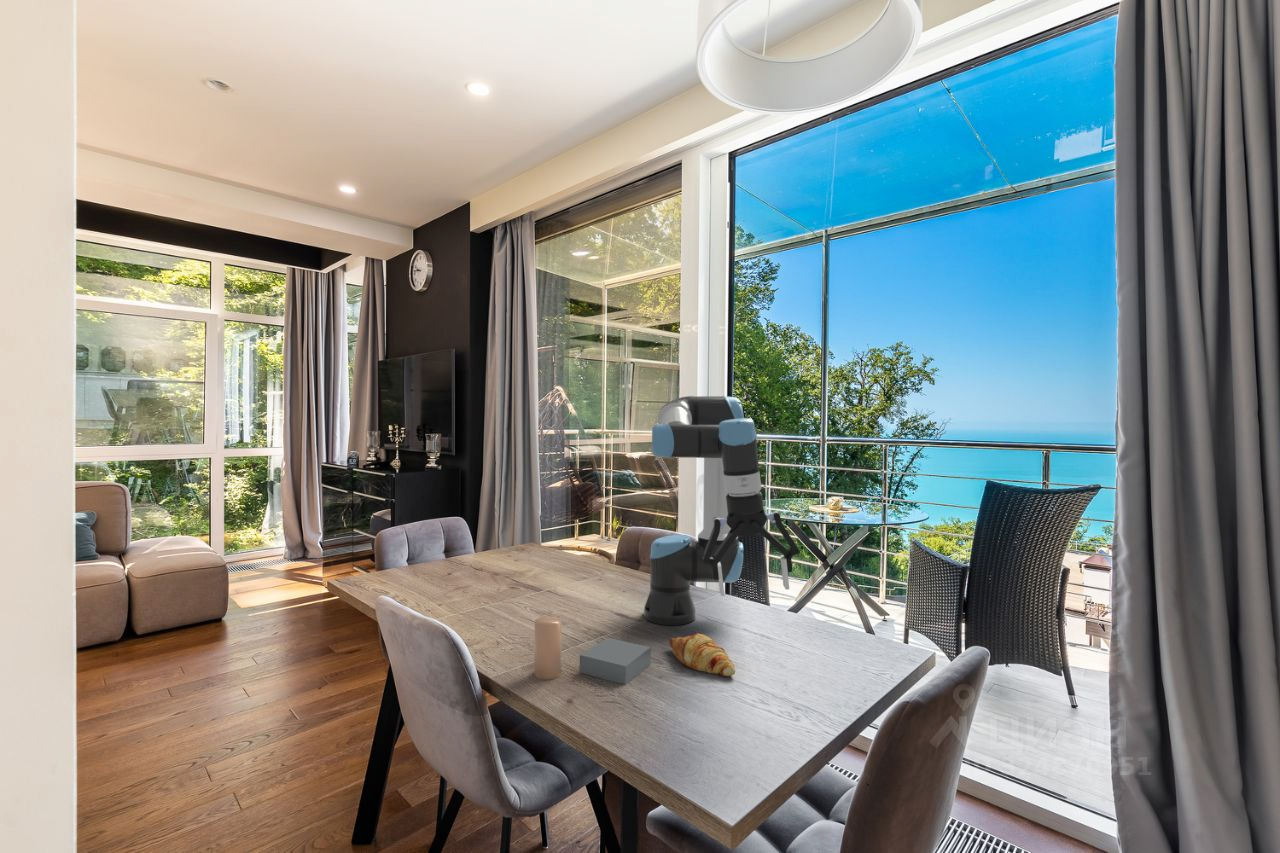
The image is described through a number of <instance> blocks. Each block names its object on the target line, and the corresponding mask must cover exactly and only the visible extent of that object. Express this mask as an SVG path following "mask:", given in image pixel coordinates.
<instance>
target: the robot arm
mask: <svg viewBox="0 0 1280 853" xmlns="http://www.w3.org/2000/svg"><path fill="white" fill-rule="evenodd" d="M651 433H652V434H651V454H652V455H653V456H654V457H656V458H665V459H670V458H678V459H679V458H681V459H682V458H685V459H686V458H690V459H691V458H693V459H694V458H695V459H696V458H697V459H703V517H702V518H703V522H702V523H703V524H702V525H703V528H702V530H701V531H700V532H699V533H698V535H697V541H695V540H694V541H693V540H692V538H691V537H690V536H689V535H686V534H684V535H683V534H674V535H673V534H672V535H666V536H662V537H659V538H656V539H654V540H653V541H652V542H651V546H650V555H649V558H650V574H649V575H650V576H649V577H650V578H649V580H650V588H649V592H648V595H647V598H646V602H645V604H644V608H643V617H644V619H645V620H647V621H648V622H650V623H653V624H657V625H662V626H679V625H687V624H689V623H691V622H693V621H695V620H696V616H697V615H696V607H695V603H694V600H693V596H692V594H691V583H718V586H719V587H718V588H719V594H720V597H725V595H726V594H725V587H724V584H725V583H736V582H737V581H738V580H739V578H740V576H741V574H742V570H743V563H744V544H743V542H740V541H739V538H743V539H744V538H747V537H757V536H758V535H759V534H760V535H761V536H762V537H764V538H765V539H766V540H767V541H768V542H769V543H770V544H771V545H773V546H774V548H776V549H777V551H779V552H780V553H781V555H779V556H780V557H779V558H780V565H781V575H782V576H781V577H782V585H783V587H784V590H787V591H788V590H790V582H789V581H790V580H789V573H792V572H793V562H792V561H793V560H792V558H793V556H795V555H799V554H800V552H801V551H800V549H799V547H798V545H797V544H796V542H794V540H793V538H792V537H791V535H790V533H789V532H788V530H787V529H786V527H785V525H784V524H783V523H782V519H781V514H780V513H779V511H777V510H773V511H772V512H769V513H765V510H764V509H765V508H764V499H763V493H762V492H761V489H762V482H761V473H760V465H759V457H758V456H759V454H758V444H757V432H756V426H755V422H754V420H753V419H752V418H749V417H748V418H746V417H744V411H743V405H742V402H741V400H740V399H739V398H738V397H734V396H724V395H722V396H720V395H719V396H707V395H706V396H703V395H702V396H700V395H699V396H693V395H691V396H690V395H688V396H682V397H678V398H675V399H673V400H671V401H669V402H666V403H665V404H664V405H663V406H662V407H661V408H660V409H659V411H658V415H657V424H654V425H653V426H652V429H651ZM768 520H769V521H770V522H771V523H772V524H775V525H774V526H776V528H777V529H778V531H779V532H780V533H781V535H782V537H783V539H784V540H785V542H786V543H787V544H788V546H789V548H786V546H785V545H784V544H782V543H781V542H780V541H779V540H778V539H777V538H776V537H775V536H774V535H773V534H772V533H771V532H769V531H768V530H767V529H766V528H765V527H764V526H765V525H766V522H767V521H768Z"/></svg>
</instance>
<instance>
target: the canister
mask: <svg viewBox="0 0 1280 853" xmlns="http://www.w3.org/2000/svg"><path fill="white" fill-rule="evenodd" d="M562 628H563V627H562V618H560V617H557V616H552V615H551V616H542V617H539V618H537V619H535V620H534V647H533V648H534V651H533V652H534V655H533V656H534V658H533V659H534V661H533V662H534V663H533V664H534V668H533V670H534V671H533V672H534V673H533V674H534V675H533V676H534V677H535V678H536V679H539V680H546V681H547V680H554V679H557V678H559V677H560V676H561V674H562Z"/></svg>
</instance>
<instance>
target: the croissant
mask: <svg viewBox="0 0 1280 853" xmlns="http://www.w3.org/2000/svg"><path fill="white" fill-rule="evenodd" d="M668 642H669V643H668V644H669V646H670V648H671V650H672V654H673V655H674V657H675V658H676V659H677V660H678V662H679V663H681V664H683V665H685V666H687V667H688V668H691V669H692V670H695V671H698V672H699V671H700V672H707V673H709V674H715V675H718V674H719V675H721V676H723V677H732V676H733V675H735V674H736V669H735V665H734V662H733V660H732V659H730V658H729V655H728V653H727V652H726V650H725V649H724V648H723V647H722V646H721V647H720V646H718V645H717V644H716V642H715V641H714V639H713V638H712V637H709V636H707V635H705V634H702V633H698V632H696V633H694V634H692V635H687V636H685V637H682V636H681V637H679V636H678V637H676V638H675V637H671V638H669V641H668Z"/></svg>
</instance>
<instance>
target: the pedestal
mask: <svg viewBox="0 0 1280 853" xmlns="http://www.w3.org/2000/svg"><path fill="white" fill-rule="evenodd" d="M651 651H652V647H650V646H646V645H642V644H636V643H632V642H629V641H624V640H619V639H615V638H610V637H606V638H605V639H603V640H602V641H600V642H598V643H597V644H595V645H593V646H592V647H591V648H588V649H586V651H584V652H582V653H581V654H580V655H579V673H580V674H583V675H588V676H591V677H596V678H600V679H603V680H607V681H610V682H614V683H618V684H622V685H627V684H628V683H629V682H631V681H632V680H633V679H634V678H636V677H637V675H639V674H640V673H641V672H643V671H644V670H645V669H647V667H649V666H650V665H651V663H652V661H651V660H652V659H651V655H652V654H651Z"/></svg>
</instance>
